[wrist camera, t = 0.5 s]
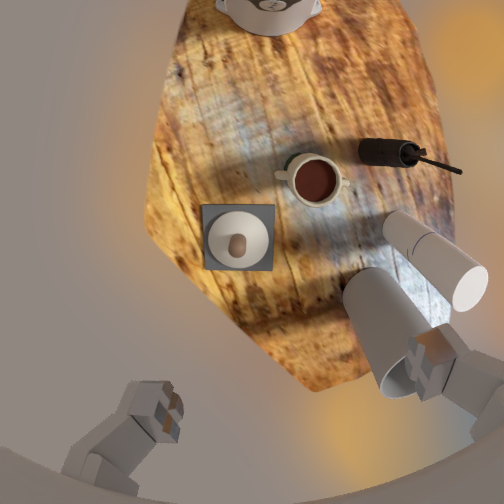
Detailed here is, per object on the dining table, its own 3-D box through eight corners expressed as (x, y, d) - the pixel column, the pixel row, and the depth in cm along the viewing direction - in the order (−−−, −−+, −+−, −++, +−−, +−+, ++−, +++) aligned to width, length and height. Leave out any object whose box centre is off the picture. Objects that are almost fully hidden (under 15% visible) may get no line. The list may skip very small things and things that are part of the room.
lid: (207, 210, 50) (203, 218, 45) (269, 210, 50) (270, 219, 45) (210, 265, 54) (206, 277, 50) (267, 266, 54) (268, 278, 50)
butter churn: (397, 128, 43) (507, 140, 18) (394, 176, 47) (496, 223, 21) (354, 121, 43) (453, 118, 18) (351, 172, 47) (443, 218, 21)
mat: (202, 204, 50) (202, 205, 49) (274, 204, 50) (275, 205, 49) (206, 268, 55) (205, 269, 54) (272, 269, 55) (272, 270, 54)
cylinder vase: (332, 310, 59) (365, 399, 36) (354, 260, 54) (408, 341, 31) (378, 317, 60) (420, 397, 37) (401, 272, 55) (460, 345, 32)
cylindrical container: (415, 214, 50) (494, 268, 27) (406, 245, 53) (475, 312, 30) (387, 207, 50) (465, 263, 27) (378, 241, 52) (444, 312, 30)
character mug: (268, 186, 49) (274, 204, 37) (272, 147, 46) (278, 151, 34) (328, 192, 49) (351, 211, 37) (333, 153, 46) (358, 161, 34)
